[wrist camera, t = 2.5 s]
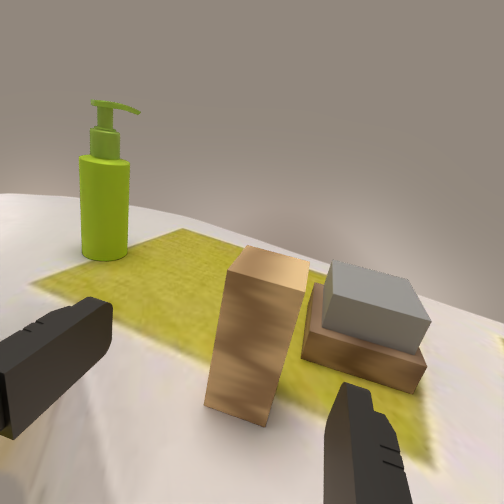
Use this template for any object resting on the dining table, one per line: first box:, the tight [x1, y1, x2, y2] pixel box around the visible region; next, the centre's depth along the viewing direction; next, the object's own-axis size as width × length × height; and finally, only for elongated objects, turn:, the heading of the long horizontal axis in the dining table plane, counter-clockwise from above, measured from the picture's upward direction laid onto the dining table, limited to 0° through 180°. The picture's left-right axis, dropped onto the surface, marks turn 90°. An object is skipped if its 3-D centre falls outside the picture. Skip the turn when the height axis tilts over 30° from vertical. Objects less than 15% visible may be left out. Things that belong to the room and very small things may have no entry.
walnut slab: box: [301, 283, 427, 394], centre depth 34 cm, size 11×11×4 cm
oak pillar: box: [204, 245, 310, 427], centre depth 23 cm, size 5×5×12 cm
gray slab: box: [322, 260, 432, 355], centre depth 33 cm, size 9×9×4 cm
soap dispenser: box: [79, 100, 141, 261], centre depth 40 cm, size 6×7×20 cm
